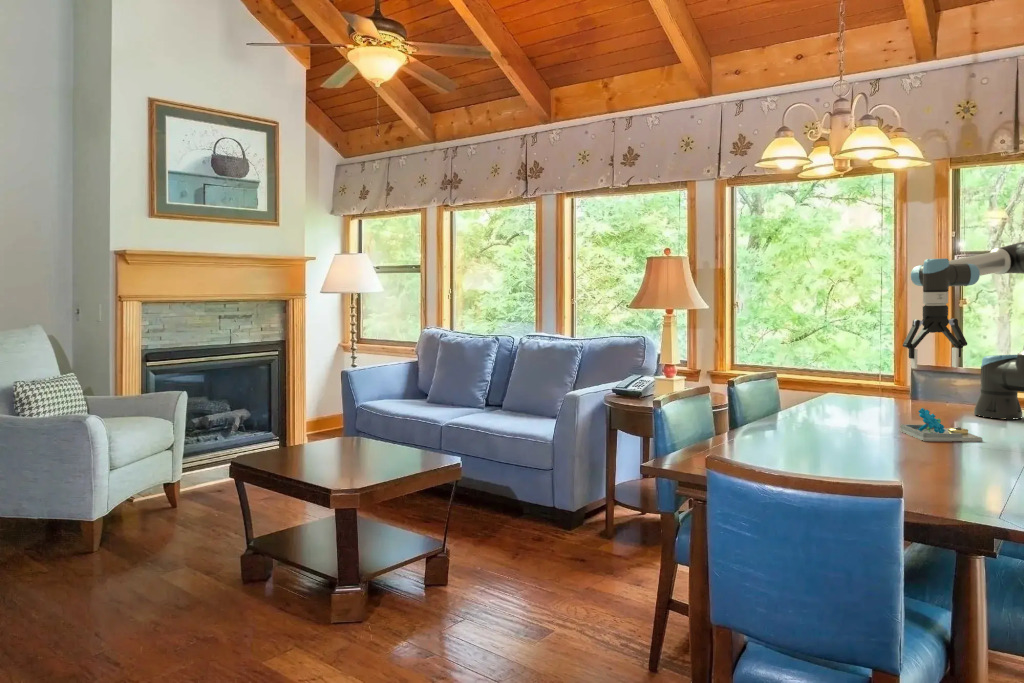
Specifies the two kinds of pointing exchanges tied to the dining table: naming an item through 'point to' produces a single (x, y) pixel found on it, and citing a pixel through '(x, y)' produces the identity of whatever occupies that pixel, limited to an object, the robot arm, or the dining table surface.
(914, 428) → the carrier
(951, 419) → the dining table surface
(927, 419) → the gear
